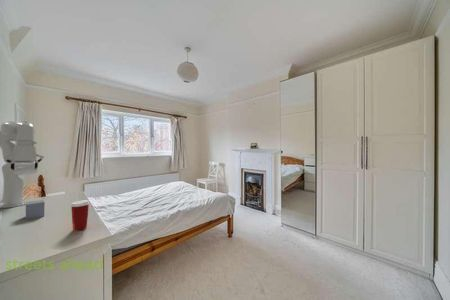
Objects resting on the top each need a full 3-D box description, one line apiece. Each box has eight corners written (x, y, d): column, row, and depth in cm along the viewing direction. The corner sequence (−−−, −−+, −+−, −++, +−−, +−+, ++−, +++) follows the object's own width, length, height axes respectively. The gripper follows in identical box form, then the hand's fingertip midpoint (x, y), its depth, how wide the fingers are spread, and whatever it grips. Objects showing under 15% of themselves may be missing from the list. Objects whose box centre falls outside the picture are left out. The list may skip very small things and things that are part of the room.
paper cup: (92, 226, 96) (93, 200, 96) (79, 232, 88) (80, 204, 89) (79, 225, 97) (80, 199, 97) (65, 231, 89) (66, 203, 89)
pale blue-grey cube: (26, 216, 109) (26, 202, 110) (43, 213, 115) (44, 199, 115) (25, 219, 104) (25, 204, 104) (44, 216, 110) (44, 202, 110)
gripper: (43, 144, 126) (43, 168, 125) (4, 143, 113) (4, 169, 113) (44, 143, 120) (43, 168, 120) (3, 142, 108) (3, 170, 108)
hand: (24, 169), depth 116 cm, fingers open, 9 cm apart
